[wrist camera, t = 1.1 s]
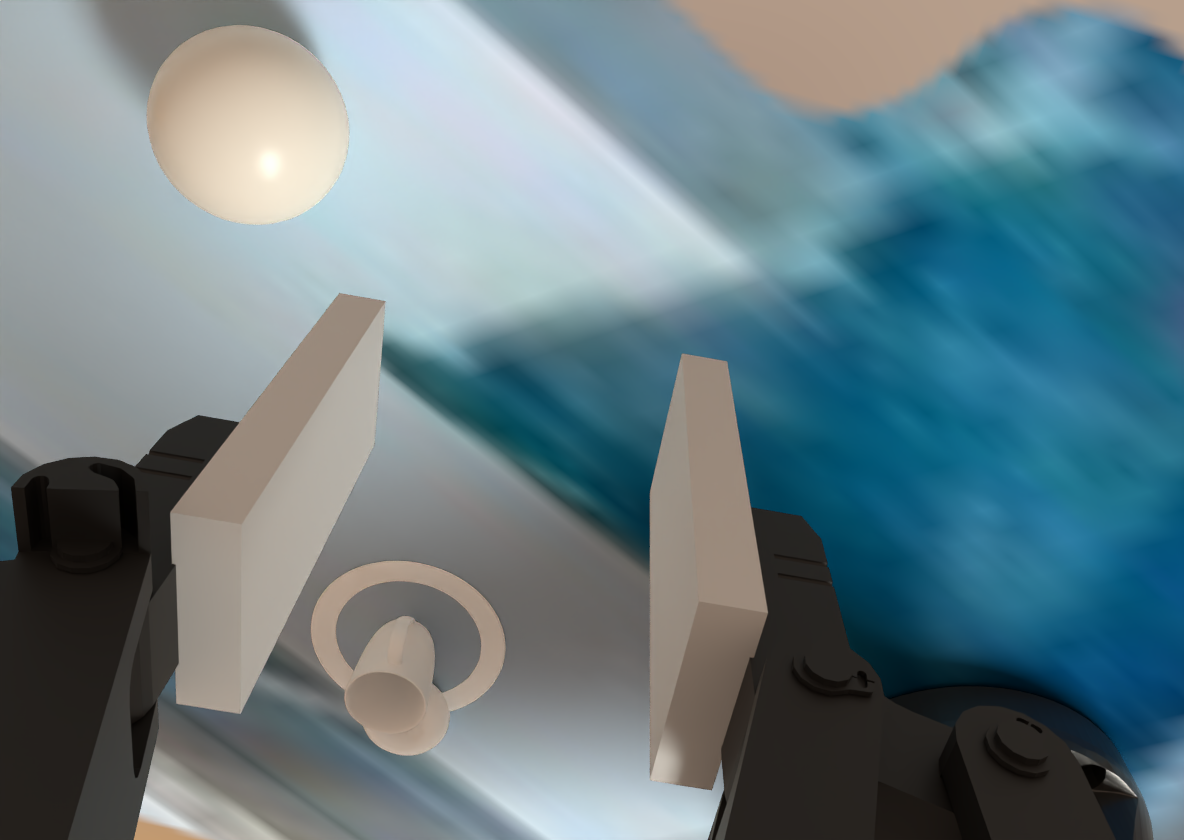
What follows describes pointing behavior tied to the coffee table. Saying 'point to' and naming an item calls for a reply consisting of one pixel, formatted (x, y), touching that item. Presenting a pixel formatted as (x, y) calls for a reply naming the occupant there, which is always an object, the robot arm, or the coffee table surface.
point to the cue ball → (247, 124)
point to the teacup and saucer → (404, 659)
